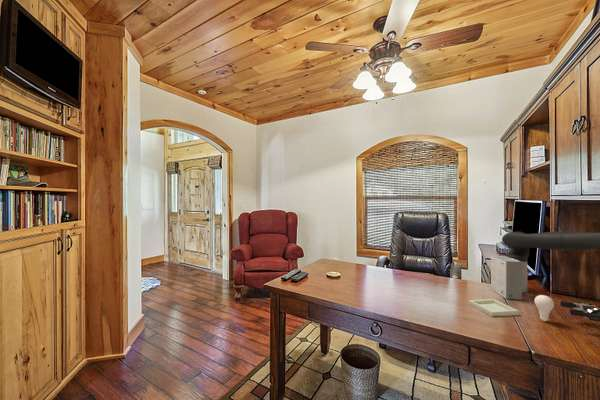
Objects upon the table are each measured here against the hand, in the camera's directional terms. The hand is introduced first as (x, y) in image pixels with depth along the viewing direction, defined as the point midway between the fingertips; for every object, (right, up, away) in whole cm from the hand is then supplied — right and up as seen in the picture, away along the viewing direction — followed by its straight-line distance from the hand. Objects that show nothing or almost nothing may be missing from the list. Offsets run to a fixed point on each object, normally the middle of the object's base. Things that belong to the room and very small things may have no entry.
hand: (565, 307), depth 105 cm
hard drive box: (+2, -7, +33) cm, 34 cm away
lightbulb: (-6, -7, +3) cm, 10 cm away
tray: (-19, -7, +15) cm, 25 cm away
